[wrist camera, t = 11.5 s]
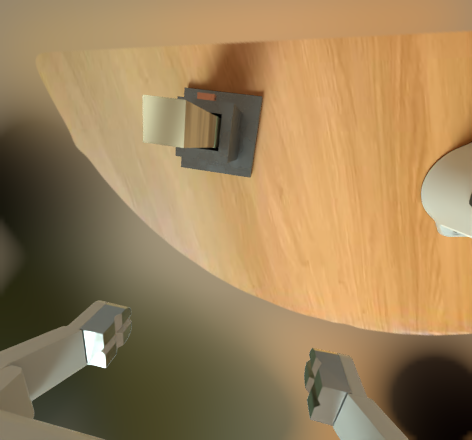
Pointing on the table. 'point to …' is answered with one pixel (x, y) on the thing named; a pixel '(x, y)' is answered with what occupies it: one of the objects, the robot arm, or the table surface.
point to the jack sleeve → (225, 132)
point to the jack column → (179, 123)
